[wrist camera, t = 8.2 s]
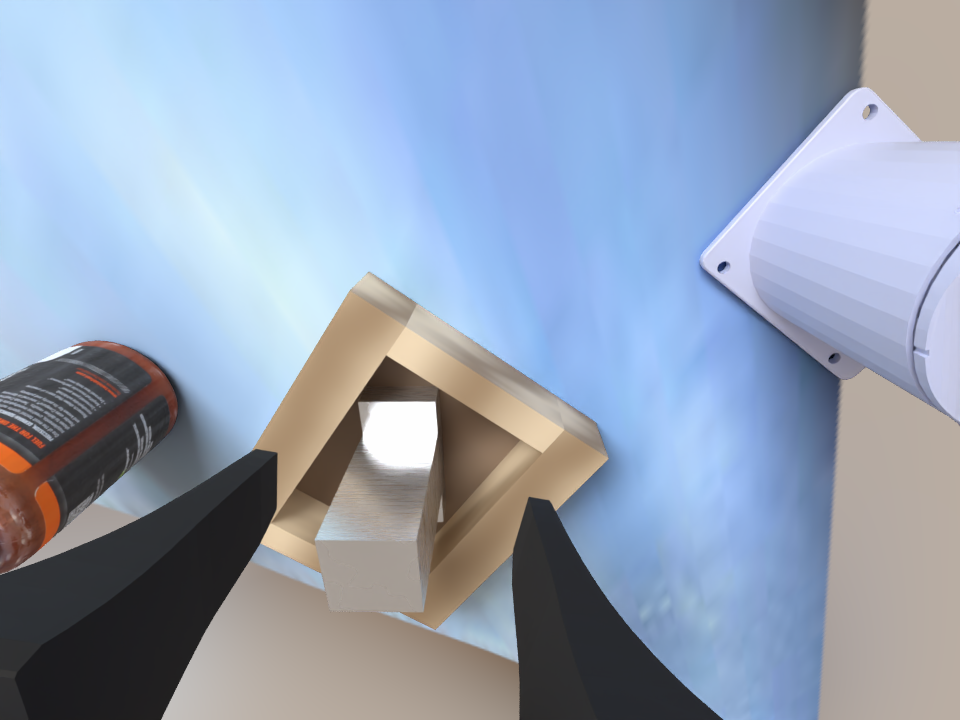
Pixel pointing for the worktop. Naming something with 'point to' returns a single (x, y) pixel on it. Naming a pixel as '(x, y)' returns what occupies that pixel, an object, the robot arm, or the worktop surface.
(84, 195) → the worktop surface
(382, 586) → the stepped metal bar
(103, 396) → the supplement bottle
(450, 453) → the well block
